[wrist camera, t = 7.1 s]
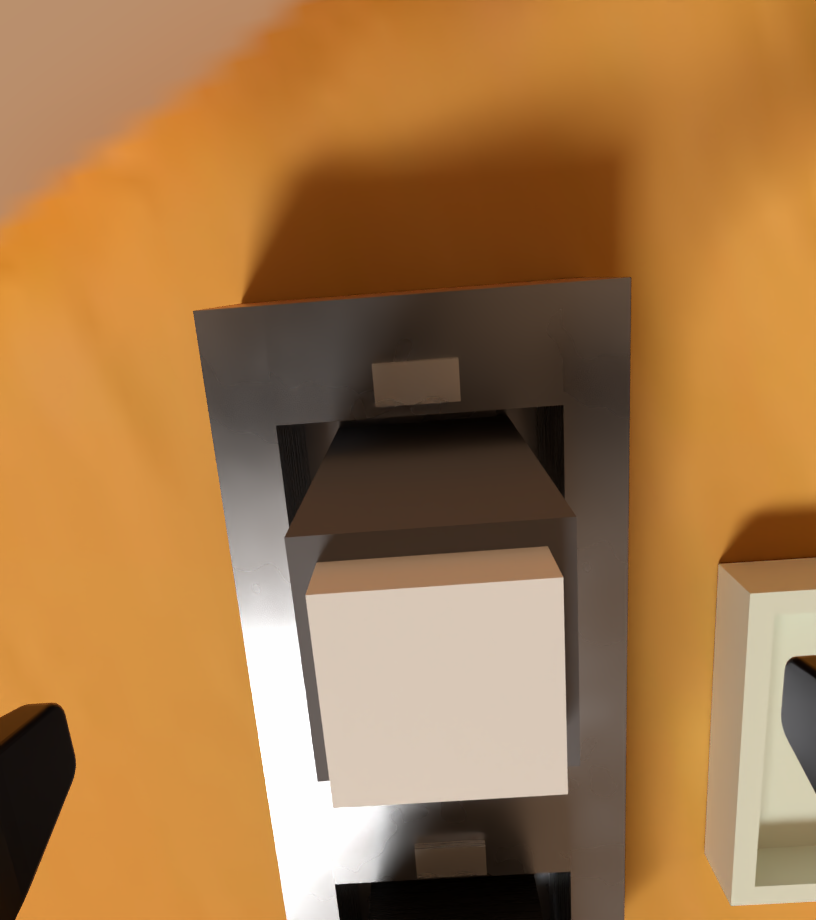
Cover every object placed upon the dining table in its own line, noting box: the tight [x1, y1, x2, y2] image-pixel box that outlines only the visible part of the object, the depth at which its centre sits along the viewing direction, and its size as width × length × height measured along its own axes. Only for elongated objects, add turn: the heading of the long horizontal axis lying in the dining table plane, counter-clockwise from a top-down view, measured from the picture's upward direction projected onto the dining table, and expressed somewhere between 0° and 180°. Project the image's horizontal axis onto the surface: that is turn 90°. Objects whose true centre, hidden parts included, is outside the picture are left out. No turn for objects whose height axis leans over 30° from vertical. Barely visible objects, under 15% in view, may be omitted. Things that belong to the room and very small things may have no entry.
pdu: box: [193, 277, 631, 920], centre depth 14 cm, size 8×20×8 cm, turn 4°
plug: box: [284, 415, 580, 808], centre depth 13 cm, size 4×4×8 cm
